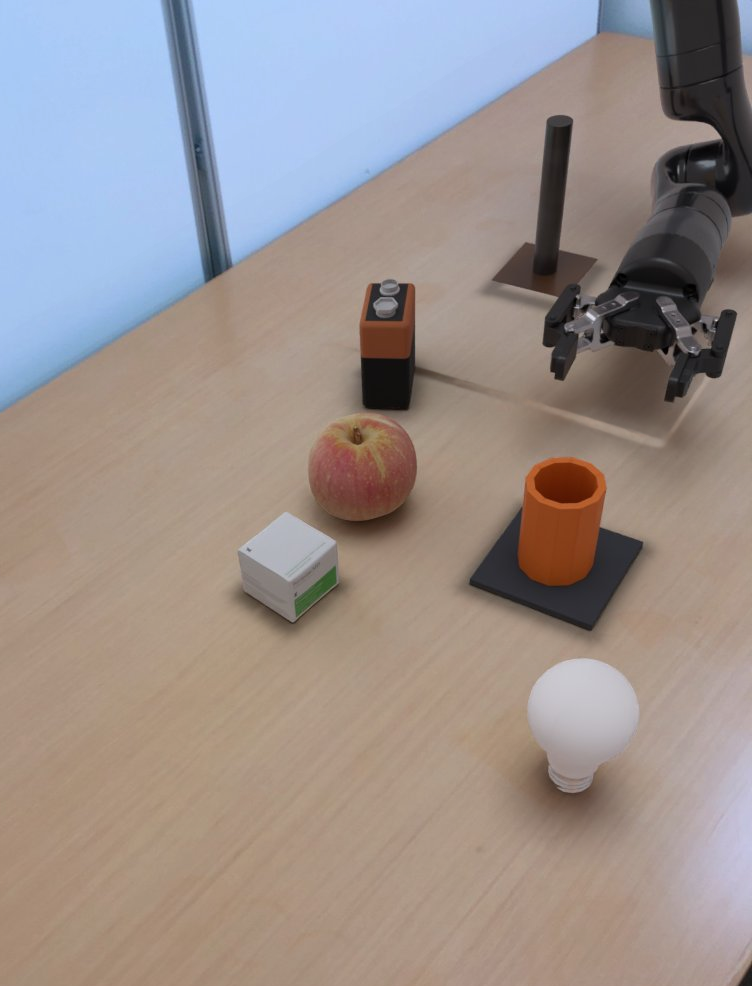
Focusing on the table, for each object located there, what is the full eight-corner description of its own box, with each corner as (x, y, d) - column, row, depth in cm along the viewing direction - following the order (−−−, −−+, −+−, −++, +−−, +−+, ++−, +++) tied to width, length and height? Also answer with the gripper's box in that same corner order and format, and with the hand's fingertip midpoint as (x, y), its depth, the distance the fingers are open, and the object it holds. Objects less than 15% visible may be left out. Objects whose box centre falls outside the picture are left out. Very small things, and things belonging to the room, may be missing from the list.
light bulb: (574, 843, 70) (596, 743, 62) (497, 779, 74) (508, 677, 66) (641, 783, 73) (671, 679, 64) (563, 724, 76) (582, 619, 68)
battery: (361, 409, 101) (357, 315, 94) (370, 365, 105) (366, 271, 98) (409, 411, 100) (409, 315, 93) (415, 366, 105) (416, 272, 97)
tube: (603, 549, 86) (618, 471, 80) (574, 595, 83) (586, 518, 77) (537, 526, 88) (546, 448, 82) (506, 570, 85) (513, 493, 79)
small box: (293, 625, 85) (288, 582, 81) (241, 592, 87) (234, 548, 84) (342, 584, 87) (339, 539, 83) (290, 552, 90) (285, 507, 86)
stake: (596, 267, 113) (619, 109, 101) (564, 307, 109) (583, 147, 97) (524, 250, 116) (538, 95, 104) (490, 288, 112) (500, 131, 100)
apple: (431, 523, 90) (432, 447, 84) (329, 552, 89) (323, 477, 83) (394, 460, 96) (392, 384, 90) (297, 486, 95) (289, 411, 89)
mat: (642, 547, 86) (643, 541, 86) (590, 630, 81) (592, 625, 81) (525, 506, 91) (525, 501, 90) (469, 584, 86) (469, 578, 85)
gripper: (588, 219, 93) (527, 323, 84) (764, 244, 88) (720, 357, 79) (578, 297, 99) (520, 403, 90) (743, 325, 94) (700, 440, 85)
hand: (614, 381), depth 84 cm, fingers open, 8 cm apart
